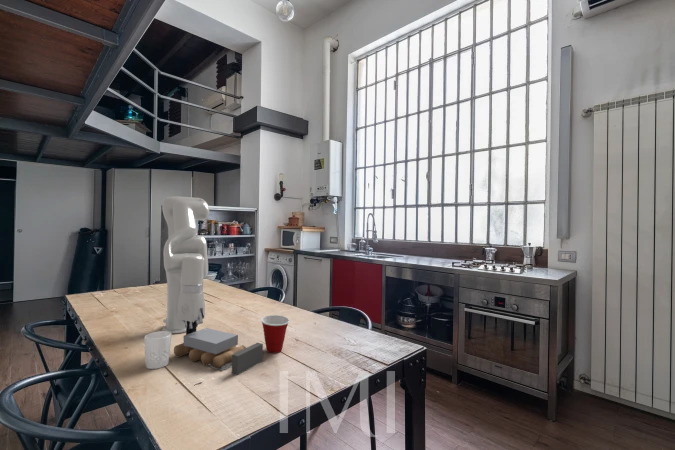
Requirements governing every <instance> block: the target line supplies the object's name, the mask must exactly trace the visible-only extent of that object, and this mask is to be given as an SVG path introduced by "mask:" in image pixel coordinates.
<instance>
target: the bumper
mask: <svg viewBox="0 0 675 450" xmlns="http://www.w3.org/2000/svg"><path fill="white" fill-rule="evenodd" d="M263 349H264V344H263V343H260V342H256V343H254V344H252V345H250V346H247V347H246V348H245V349H243V350H241V351H239V352H237V353H234V354H232V366H231V374H232V375H236V376H238V375H240V374H242V373H244V372H246V371H248V370H250V369H251V368H253V367H255V366H257V365H258V364H260V363H262V362H263V357H264V356H263V355H264V354H263V353H264V352H263V351H264V350H263Z"/></svg>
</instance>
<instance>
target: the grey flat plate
mask: <svg viewBox="0 0 675 450" xmlns="http://www.w3.org/2000/svg"><path fill="white" fill-rule="evenodd" d="M208 366H209V367H210V368H213V369H216V370H219V371H225V370H226V369H229V368H230V367H231V368H232V362H230V363H228V364H226V365H223V366H221V367H219V368H215V367H214V365H213V362H211V363H209V365H208Z"/></svg>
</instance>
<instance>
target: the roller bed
mask: <svg viewBox="0 0 675 450" xmlns="http://www.w3.org/2000/svg"><path fill="white" fill-rule="evenodd" d="M183 343H184V342H181V343H180V344H177V345H175V346H174V348H173V354H174V356H175V357H176V358H179V357H180V358H181V357H182V356H185V355H187V354H188V357H189V360H190V361H191V362H193V363H194V362H198V361H199V360H200V361H201V363H202V364H203V366H209V363H211V362H213V358H214V357H216V356H219V355H221V354H223V353H226V352H228V351H230V350H233V349H235V348H237V345H236V346H234V347H231V348H229V349H227V350H225V351H222V352H220V353H218V354H213V353H209V352H206V351H202V350H198V349H195V348H191V347H187V346H184V345H183Z"/></svg>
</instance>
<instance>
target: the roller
mask: <svg viewBox="0 0 675 450" xmlns="http://www.w3.org/2000/svg"><path fill="white" fill-rule="evenodd" d="M245 348H247V347H246V346H245V345H240V346H236V348H235V349H233V350H230V351H228V352H226V353H223V354H221V355H219V356H216V357H214V358H213V365H214V367H215V368H219V367H221V366H223V365H226V364H228V363H230V362H232V354H234V353H237V352H239V351H241V350H243V349H245ZM215 368H214V369H215Z"/></svg>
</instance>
